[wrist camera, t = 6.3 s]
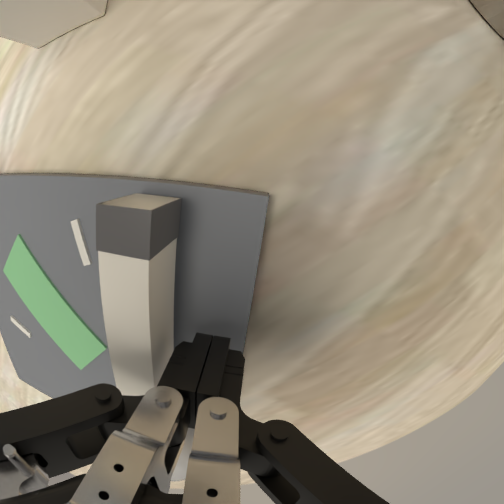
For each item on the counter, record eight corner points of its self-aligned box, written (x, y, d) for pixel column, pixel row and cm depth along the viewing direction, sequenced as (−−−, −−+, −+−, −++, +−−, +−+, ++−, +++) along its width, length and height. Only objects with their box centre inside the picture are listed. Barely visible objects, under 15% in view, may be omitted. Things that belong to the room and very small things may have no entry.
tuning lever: (198, 449, 16) (189, 486, 13) (135, 432, 16) (120, 466, 13) (216, 202, 11) (193, 219, 7) (108, 190, 11) (57, 203, 7)
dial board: (268, 193, 12) (268, 197, 11) (227, 441, 18) (224, 457, 17) (-10, 174, 13) (-26, 176, 11) (26, 370, 18) (18, 379, 17)
